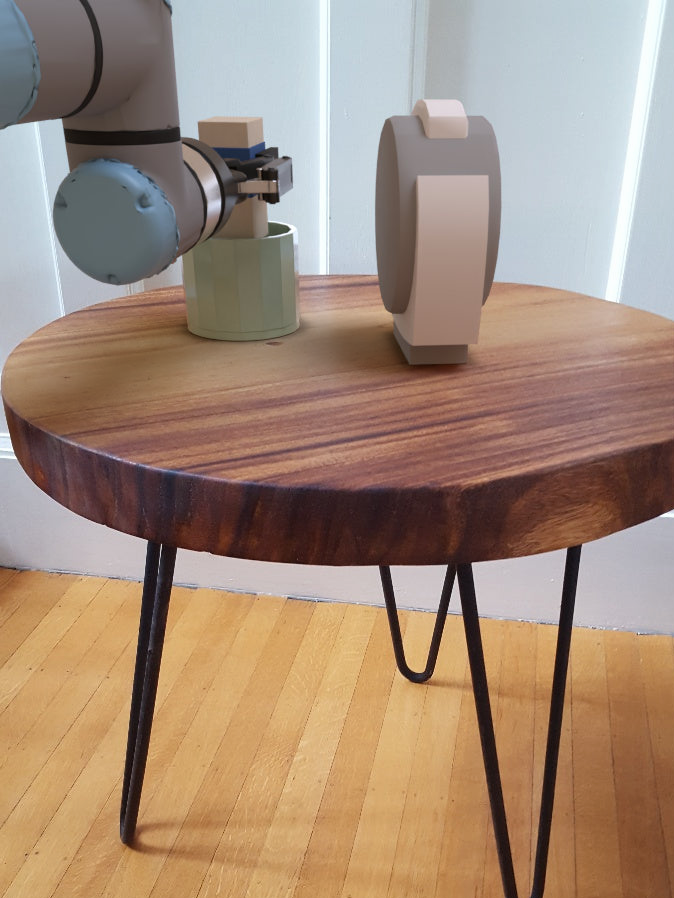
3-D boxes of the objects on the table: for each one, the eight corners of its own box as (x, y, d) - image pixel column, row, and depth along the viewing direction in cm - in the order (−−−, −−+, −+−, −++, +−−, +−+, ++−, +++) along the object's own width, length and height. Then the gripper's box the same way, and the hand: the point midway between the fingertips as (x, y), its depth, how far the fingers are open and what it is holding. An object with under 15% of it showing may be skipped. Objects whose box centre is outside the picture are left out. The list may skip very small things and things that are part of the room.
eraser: (206, 243, 89) (195, 121, 84) (223, 232, 95) (214, 116, 89) (255, 245, 89) (248, 122, 83) (269, 233, 94) (263, 117, 89)
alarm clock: (493, 375, 83) (514, 107, 72) (396, 377, 82) (403, 106, 71) (453, 322, 98) (466, 93, 87) (371, 324, 97) (373, 93, 86)
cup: (173, 338, 92) (162, 237, 87) (205, 310, 101) (197, 217, 96) (287, 343, 91) (283, 241, 86) (308, 314, 100) (306, 221, 95)
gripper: (73, 245, 77) (164, 202, 96) (290, 251, 75) (338, 207, 94) (57, 138, 72) (154, 116, 92) (286, 143, 71) (337, 119, 90)
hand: (247, 162), depth 93 cm, fingers closed on eraser, 5 cm apart
